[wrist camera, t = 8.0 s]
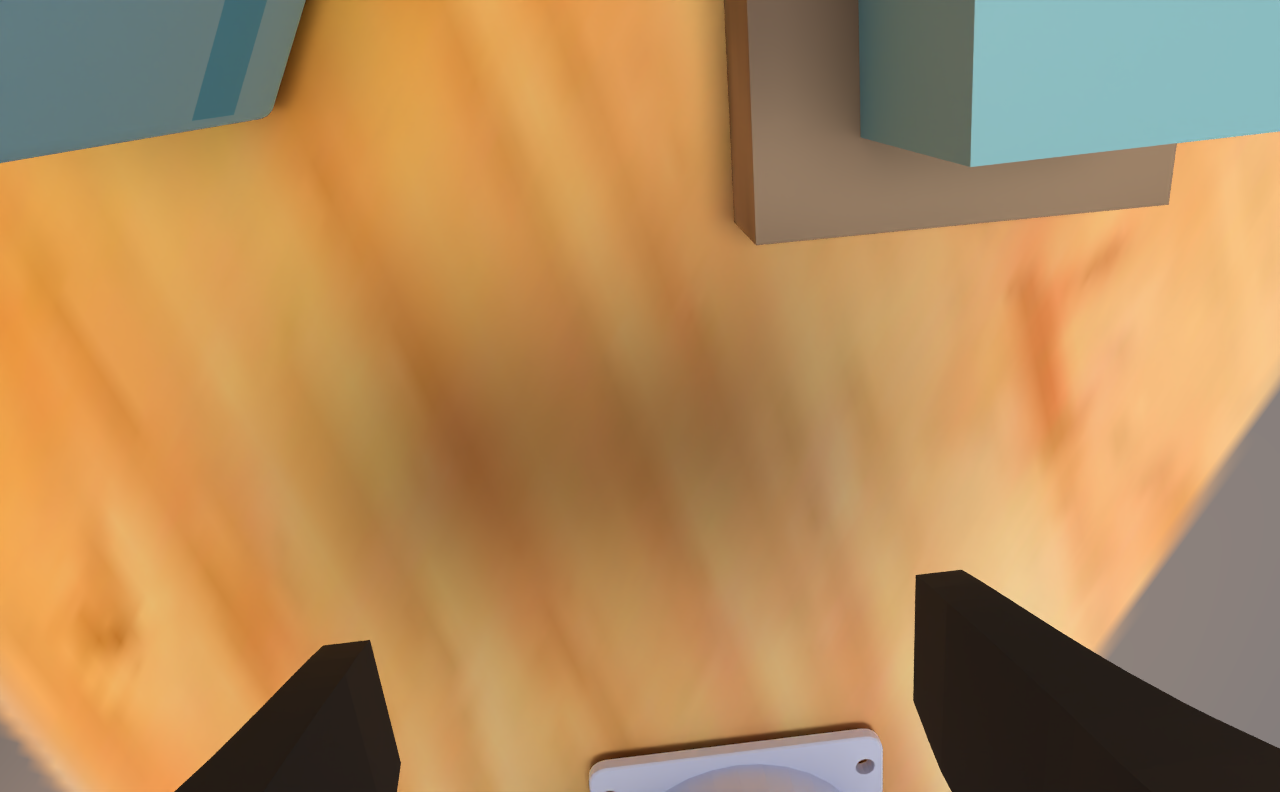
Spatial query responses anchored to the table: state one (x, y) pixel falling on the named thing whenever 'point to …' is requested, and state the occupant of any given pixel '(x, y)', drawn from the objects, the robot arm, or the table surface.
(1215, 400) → the table surface
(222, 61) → the data package
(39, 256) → the table surface
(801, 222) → the walnut block
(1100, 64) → the teal block
